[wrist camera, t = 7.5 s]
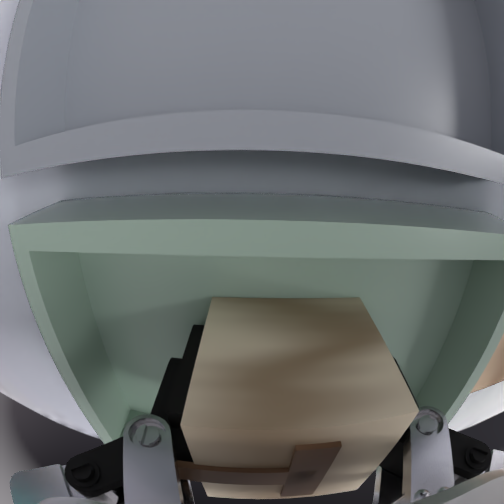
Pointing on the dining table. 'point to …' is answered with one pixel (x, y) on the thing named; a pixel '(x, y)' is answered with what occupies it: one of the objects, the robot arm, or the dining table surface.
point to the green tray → (255, 284)
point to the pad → (492, 369)
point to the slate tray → (255, 80)
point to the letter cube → (291, 399)
